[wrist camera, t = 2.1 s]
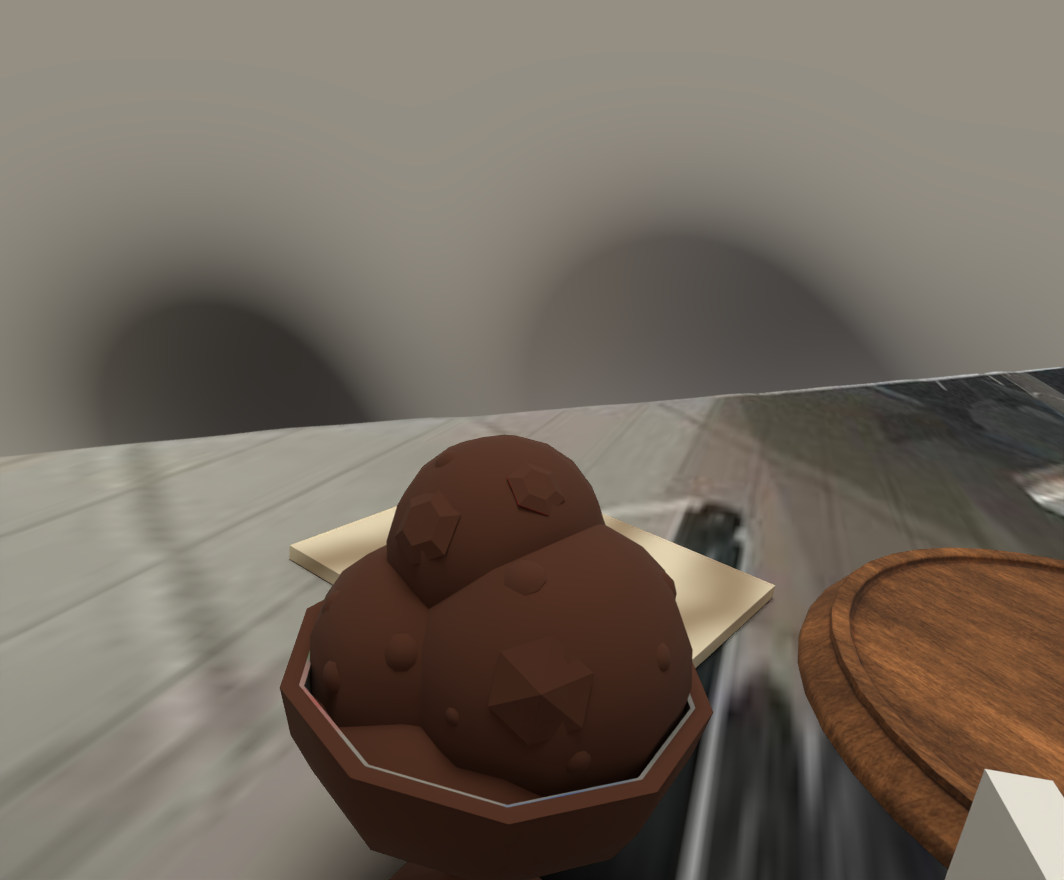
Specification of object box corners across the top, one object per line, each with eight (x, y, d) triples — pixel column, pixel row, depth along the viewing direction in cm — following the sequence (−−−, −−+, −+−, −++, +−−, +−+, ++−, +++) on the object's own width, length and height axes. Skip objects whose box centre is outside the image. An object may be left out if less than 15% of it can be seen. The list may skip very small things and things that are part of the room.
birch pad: (289, 558, 44) (289, 545, 43) (496, 480, 57) (497, 469, 57) (607, 749, 33) (610, 732, 33) (771, 598, 46) (775, 585, 46)
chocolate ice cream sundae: (193, 957, 23) (179, 456, 18) (442, 743, 32) (480, 371, 27) (510, 1235, 18) (618, 653, 13) (698, 889, 27) (805, 467, 22)
